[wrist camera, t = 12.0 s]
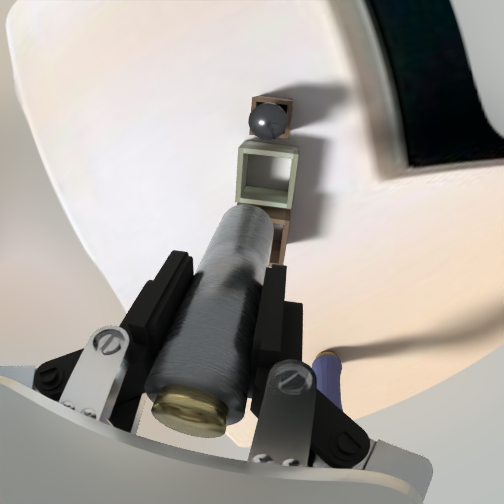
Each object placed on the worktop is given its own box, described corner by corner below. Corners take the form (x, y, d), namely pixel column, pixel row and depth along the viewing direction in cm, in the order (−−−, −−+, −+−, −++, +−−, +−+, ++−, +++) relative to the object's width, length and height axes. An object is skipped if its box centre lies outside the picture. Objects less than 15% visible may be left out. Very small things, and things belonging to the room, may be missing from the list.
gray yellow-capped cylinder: (276, 207, 15) (243, 411, 6) (270, 254, 16) (239, 448, 7) (221, 201, 15) (125, 383, 6) (220, 248, 16) (149, 428, 7)
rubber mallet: (366, 328, 34) (381, 578, 9) (374, 361, 37) (384, 569, 12) (274, 349, 38) (238, 576, 13) (292, 378, 41) (269, 572, 16)
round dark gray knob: (290, 101, 21) (288, 105, 16) (287, 128, 23) (284, 141, 18) (260, 98, 22) (250, 101, 17) (258, 125, 23) (247, 137, 18)
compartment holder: (303, 100, 21) (305, 103, 18) (284, 244, 29) (282, 268, 26) (248, 94, 22) (239, 96, 18) (238, 238, 29) (230, 260, 26)
